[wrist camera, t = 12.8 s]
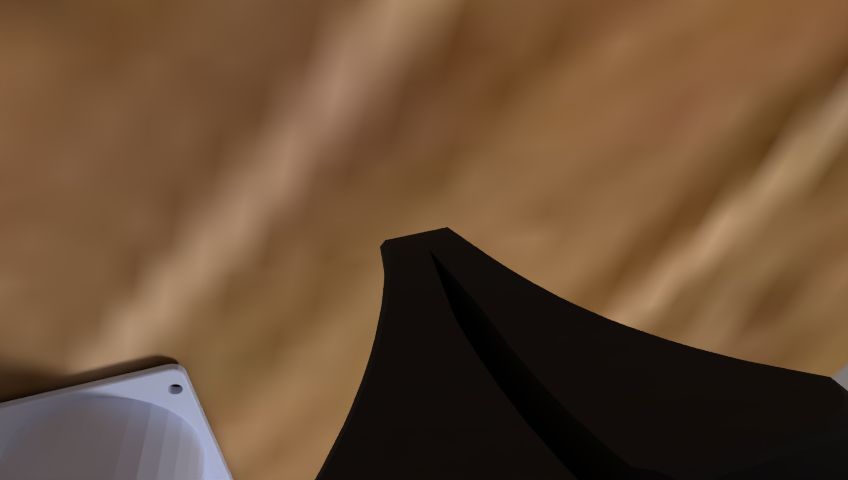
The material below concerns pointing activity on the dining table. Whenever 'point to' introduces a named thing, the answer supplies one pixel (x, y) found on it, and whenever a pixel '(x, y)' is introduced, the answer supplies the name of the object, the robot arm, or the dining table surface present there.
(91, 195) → the dining table surface
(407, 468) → the robot arm
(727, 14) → the dining table surface
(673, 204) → the dining table surface
